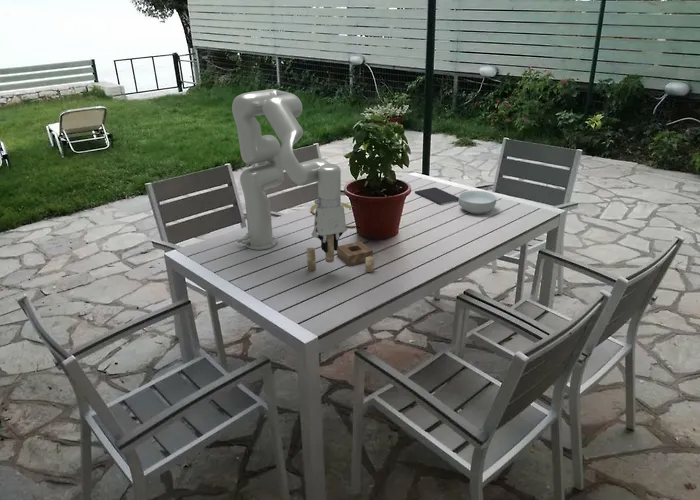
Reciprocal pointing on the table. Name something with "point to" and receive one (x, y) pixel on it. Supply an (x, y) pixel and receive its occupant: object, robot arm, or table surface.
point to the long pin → (330, 249)
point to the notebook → (437, 196)
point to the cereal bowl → (477, 201)
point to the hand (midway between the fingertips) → (329, 249)
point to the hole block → (354, 253)
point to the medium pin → (311, 259)
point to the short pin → (369, 264)
